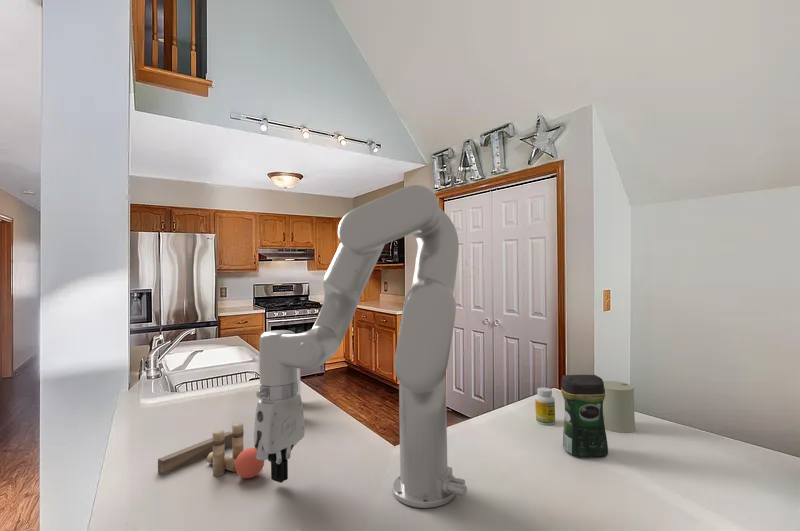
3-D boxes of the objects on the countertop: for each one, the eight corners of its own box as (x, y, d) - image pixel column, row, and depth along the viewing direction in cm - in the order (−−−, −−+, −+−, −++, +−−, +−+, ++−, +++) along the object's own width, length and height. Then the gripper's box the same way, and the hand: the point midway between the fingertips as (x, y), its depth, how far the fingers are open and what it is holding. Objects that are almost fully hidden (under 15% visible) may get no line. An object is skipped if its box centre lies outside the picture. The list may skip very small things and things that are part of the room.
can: (643, 429, 109) (642, 385, 109) (619, 435, 106) (617, 389, 106) (614, 418, 118) (613, 378, 118) (590, 423, 114) (589, 381, 115)
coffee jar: (597, 445, 99) (595, 371, 100) (613, 460, 92) (610, 379, 92) (558, 445, 100) (556, 371, 100) (570, 460, 92) (568, 379, 93)
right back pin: (246, 462, 93) (245, 424, 94) (236, 467, 91) (236, 427, 91) (239, 460, 95) (238, 422, 95) (229, 464, 92) (229, 425, 93)
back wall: (233, 444, 104) (233, 432, 104) (162, 474, 88) (162, 460, 88) (228, 443, 105) (228, 431, 105) (157, 472, 89) (157, 459, 89)
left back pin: (227, 472, 89) (227, 431, 89) (217, 477, 87) (217, 435, 87) (220, 469, 90) (220, 429, 91) (210, 474, 88) (210, 433, 88)
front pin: (240, 458, 90) (215, 449, 95) (231, 463, 88) (206, 454, 93) (241, 468, 90) (216, 459, 95) (232, 474, 88) (207, 465, 93)
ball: (248, 448, 91) (258, 474, 90) (225, 460, 86) (236, 487, 85) (262, 439, 89) (274, 464, 87) (240, 450, 84) (251, 478, 82)
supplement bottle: (541, 417, 119) (540, 385, 120) (558, 422, 116) (557, 389, 116) (532, 422, 116) (531, 389, 116) (550, 427, 112) (549, 393, 112)
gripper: (262, 403, 75) (262, 502, 74) (316, 384, 87) (317, 468, 87) (236, 397, 78) (236, 492, 78) (292, 380, 91) (293, 461, 91)
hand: (279, 479), depth 82 cm, fingers closed
